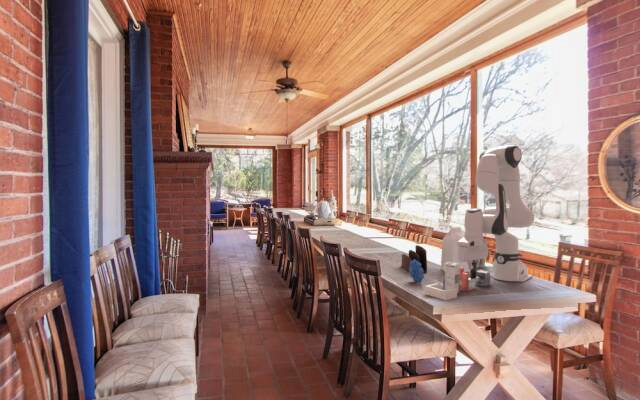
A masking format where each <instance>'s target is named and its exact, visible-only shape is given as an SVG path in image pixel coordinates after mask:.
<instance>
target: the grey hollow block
mask: <svg viewBox="0 0 640 400" xmlns="http://www.w3.org/2000/svg"><path fill="white" fill-rule="evenodd" d="M490 274H491V271H486V270H482V269H480V270H476V276H481V275H483V280H480V281H476V282H474V283H475V286H479V287H484V288H486V286H487V287H489V286H491V278H490Z"/></svg>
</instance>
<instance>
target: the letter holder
mask: <svg viewBox="0 0 640 400" xmlns="http://www.w3.org/2000/svg"><path fill="white" fill-rule="evenodd" d="M414 259H415V260H417V262H420V263H421V267H420V268H422V269H423V270H424V272H423V273H422V274H427V273H428V261H427V260H428V259H427V250H426V249H425V248H424V247H423V246H421V245H417V244H416V245H415V251H414V250H411V249H409V250H408V255H407V254H405V253H402V254H401V267H402V268H403V269H405V271H408V272H409V271H410V270H409V267H410V262H411V261H413V260H414Z"/></svg>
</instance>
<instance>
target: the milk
mask: <svg viewBox="0 0 640 400" xmlns="http://www.w3.org/2000/svg"><path fill="white" fill-rule="evenodd" d="M464 234H465V232H463V231H462V227H461V226H450V227H449V231H447V233H446V235H444V237H443V238H442V245H441V260H440V270H442V271H444V264H445V263H447V262H455V263H459V264H460V268H463V269H464V273H470V269H468V264H467V262H461V261H459V260H458V247H459V245H458V241H459V240H461V239H462V238H463V237H464ZM459 272H460V271H459Z"/></svg>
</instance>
